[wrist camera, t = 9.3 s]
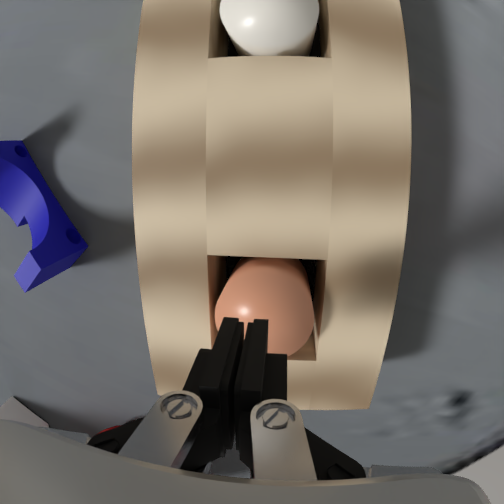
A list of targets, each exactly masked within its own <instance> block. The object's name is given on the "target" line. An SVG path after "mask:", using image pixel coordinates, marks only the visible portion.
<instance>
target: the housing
mask: <svg viewBox="0 0 504 504" xmlns="http://www.w3.org/2000/svg"><path fill="white" fill-rule="evenodd" d="M220 3H221V0H143V6H142V13H141V20H140V28H139V36H138V45H137V55H136V66H135V80H134V96H133V121H132V182H133V208H134V225H135V240H136V252H137V263H138V273H139V282H140V290H141V298H142V306H143V313H144V320H145V327H146V333H147V340H148V346H149V351H150V357H151V362H152V368H153V373H154V378H155V383H156V388H157V393H158V395H164V394H166V393H168V392H172V391H179V390H183V387H184V385H185V382H186V380H187V378H188V375H189V373H190V370H191V368H192V366H193V363H194V361H195V358H196V356H197V354H198V351H199V350H200V349H201V348H203V349H212V348H213V345H214V342H215V339H216V337H217V334H218V330H217V327H216V323H215V308H216V304H217V301H218V299H219V297H220V295H221V293H222V291H223V289H224V287H225V285H226V256H244V257H269V258H294V259H317V262H316V275H315V288H314V299H313V311H314V326H313V330H312V333H311V335H310V337H309V339H308V340H307V342H306V343H305V344H304V345H303V346H302V347H301V348H300V349H299V350H298V351H297V352H295V353H293V354H292V355H290V356H288V357H287V401H289V402H290V403H292V404H294V405H295V406H296V407H297V408H298V409H299V410H349V409H369V406H370V403H371V400H372V396H373V393H374V390H375V386H376V383H377V379H378V376H379V372H380V368H381V365H382V361H383V357H384V353H385V349H386V345H387V340H388V336H389V332H390V327H391V322H392V318H393V313H394V308H395V303H396V297H397V292H398V286H399V280H400V273H401V267H402V260H403V253H404V245H405V236H406V227H407V217H408V206H409V192H410V173H411V99H410V82H409V69H408V58H407V48H406V40H405V32H404V25H403V19H402V12H401V7H400V1H399V0H318V3H319V31H320V53H321V57H305V56H237V57H227V55H228V33H227V31H226V29H225V26H224V24H223V22H222V20H221V17H220Z"/></svg>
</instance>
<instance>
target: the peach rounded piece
mask: <svg viewBox="0 0 504 504" xmlns="http://www.w3.org/2000/svg"><path fill="white" fill-rule="evenodd" d="M224 317H233V318H239V322H244V339H245V334H246V330H247V325H248V322H253V321H254V319H269V324H268V350H267V353H276V354H287V357H288V356H290V355H292V354H293V353H295V352H297V351H298V350H299V349H300V348H301V347H302V346H303V345H304V344H305V343H306V342H307V340H308V339H309V337H310V335H311V333H312V330H313V326H314V311H313V304H312V298H311V292H310V286H309V280H308V275H307V272H306V270H305V268H304V266H303V264H302V263H301V262H300V261H299V260H298V259H294V258H269V257H244V256H243V257H242V258H241V259H240V260H239V261H238V263H237V264H236V266H235V268H234V270H233V271H232V273H231V275H230V277H229V279H228V281H227V283H226V285H225V287H224V289H223V291H222V293H221V295H220V297H219V299H218V301H217V304H216V308H215V323H216V327H217V330H218V331H219V328H220V326H221V323H222V320H223V318H224Z"/></svg>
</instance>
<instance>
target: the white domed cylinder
mask: <svg viewBox="0 0 504 504" xmlns="http://www.w3.org/2000/svg"><path fill="white" fill-rule="evenodd" d="M318 15H319V3H318V0H221V3H220V17H221V20H222V22H223V24H224V26H225V29H226V31H227V33H228V35H229V37H230V39H231V41H232V43H233V45H234V47H235V49H236V51H237V53H238V55H239V56H305V57H308V56H309V54H310V52H311V50H312V45H313V40H314V35H315V30H316V25H317V20H318Z"/></svg>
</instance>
